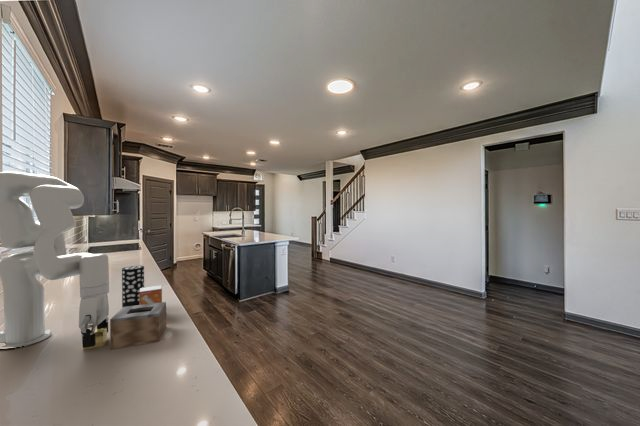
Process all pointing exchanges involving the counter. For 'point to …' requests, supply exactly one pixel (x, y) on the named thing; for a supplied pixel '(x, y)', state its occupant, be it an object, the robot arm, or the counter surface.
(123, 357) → the counter surface
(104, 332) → the yellow rectangular block
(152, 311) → the coin box
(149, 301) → the small box
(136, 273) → the white-spotted black cylinder
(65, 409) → the counter surface
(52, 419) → the counter surface
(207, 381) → the counter surface
